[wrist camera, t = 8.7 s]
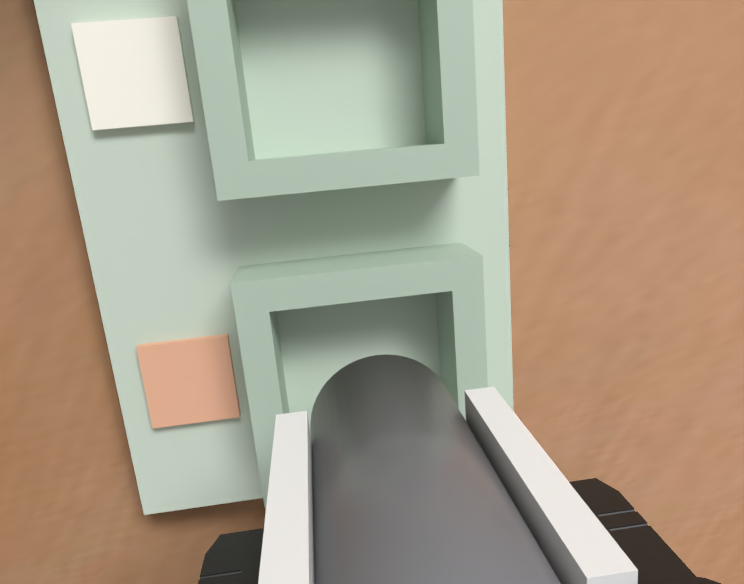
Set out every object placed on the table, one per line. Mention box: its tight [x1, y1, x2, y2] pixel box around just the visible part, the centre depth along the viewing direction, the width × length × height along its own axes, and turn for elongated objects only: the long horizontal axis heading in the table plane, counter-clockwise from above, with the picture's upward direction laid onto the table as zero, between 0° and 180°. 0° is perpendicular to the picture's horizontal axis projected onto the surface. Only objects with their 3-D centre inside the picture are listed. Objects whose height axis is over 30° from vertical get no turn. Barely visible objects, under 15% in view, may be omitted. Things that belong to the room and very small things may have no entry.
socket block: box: [34, 0, 513, 515], centre depth 19 cm, size 14×20×4 cm
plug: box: [310, 354, 561, 584], centre depth 10 cm, size 4×4×12 cm
